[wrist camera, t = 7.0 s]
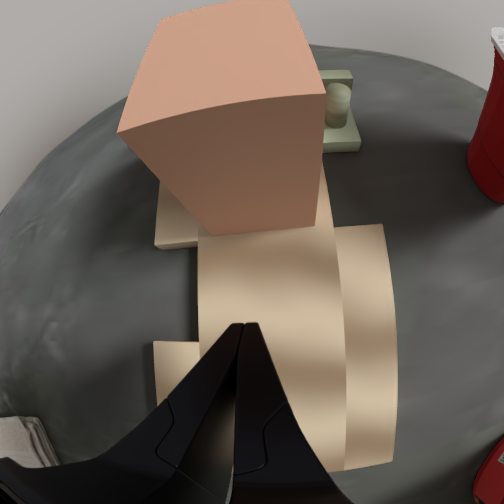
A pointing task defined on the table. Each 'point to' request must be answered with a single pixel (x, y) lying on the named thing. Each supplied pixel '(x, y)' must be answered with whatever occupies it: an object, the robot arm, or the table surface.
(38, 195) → the table surface
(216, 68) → the block
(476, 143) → the plastic cup
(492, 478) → the canned food
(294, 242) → the trap board
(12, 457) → the washcloth
